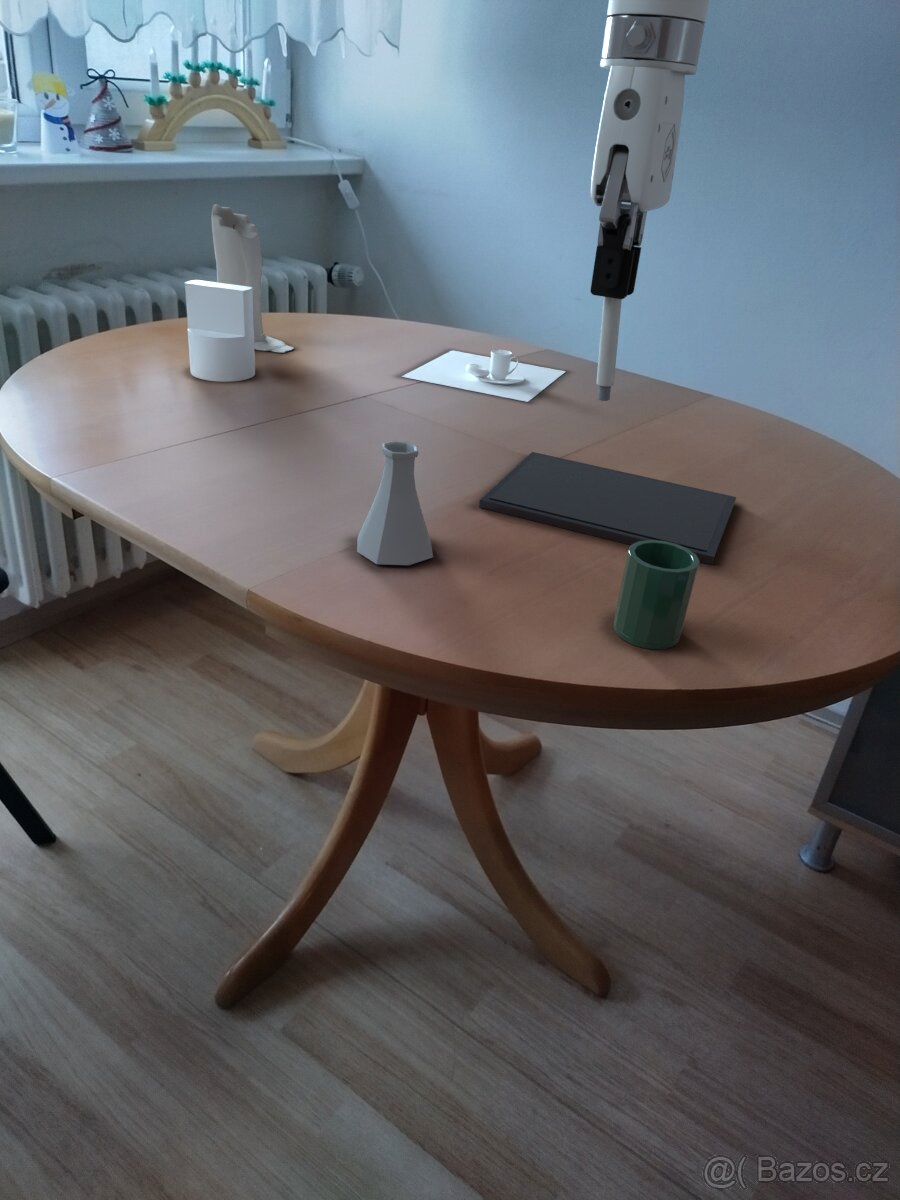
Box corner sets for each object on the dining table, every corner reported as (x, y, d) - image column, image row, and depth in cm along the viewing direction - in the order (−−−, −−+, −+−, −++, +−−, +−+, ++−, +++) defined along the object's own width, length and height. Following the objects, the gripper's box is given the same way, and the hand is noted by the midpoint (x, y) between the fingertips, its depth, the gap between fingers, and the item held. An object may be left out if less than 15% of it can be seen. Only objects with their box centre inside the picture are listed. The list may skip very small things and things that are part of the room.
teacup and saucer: (459, 379, 130) (462, 352, 128) (478, 368, 137) (481, 342, 135) (514, 390, 128) (517, 362, 126) (531, 378, 134) (534, 351, 132)
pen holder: (685, 625, 72) (704, 550, 68) (673, 656, 67) (692, 578, 64) (621, 608, 73) (637, 534, 70) (606, 637, 69) (621, 560, 66)
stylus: (614, 398, 81) (630, 225, 74) (609, 402, 80) (625, 226, 73) (597, 396, 82) (612, 224, 75) (593, 400, 80) (607, 226, 73)
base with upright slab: (178, 376, 120) (172, 286, 114) (208, 360, 128) (203, 276, 122) (239, 385, 119) (235, 294, 113) (265, 369, 127) (263, 283, 121)
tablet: (734, 504, 96) (736, 496, 95) (711, 565, 82) (714, 555, 82) (531, 458, 103) (532, 450, 103) (478, 507, 89) (479, 498, 89)
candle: (274, 355, 134) (272, 215, 124) (208, 338, 139) (200, 203, 129) (304, 347, 139) (303, 212, 129) (239, 331, 145) (233, 201, 135)
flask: (345, 537, 81) (347, 435, 76) (416, 529, 84) (423, 430, 79) (370, 572, 75) (374, 465, 70) (446, 563, 78) (455, 458, 73)
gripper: (678, 42, 60) (631, 315, 69) (715, 60, 73) (671, 289, 82) (575, 37, 62) (543, 301, 71) (628, 55, 75) (595, 277, 84)
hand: (611, 293), depth 76 cm, fingers closed on stylus, 1 cm apart
